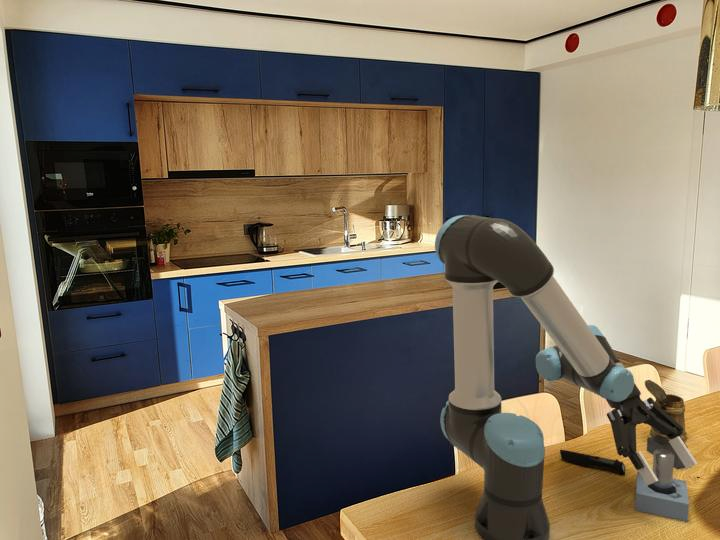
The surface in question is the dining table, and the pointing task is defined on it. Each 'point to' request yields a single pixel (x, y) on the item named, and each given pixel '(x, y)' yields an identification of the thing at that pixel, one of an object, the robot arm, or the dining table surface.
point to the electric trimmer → (593, 461)
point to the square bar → (664, 444)
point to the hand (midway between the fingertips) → (673, 474)
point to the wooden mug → (667, 407)
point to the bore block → (663, 500)
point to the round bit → (663, 471)
